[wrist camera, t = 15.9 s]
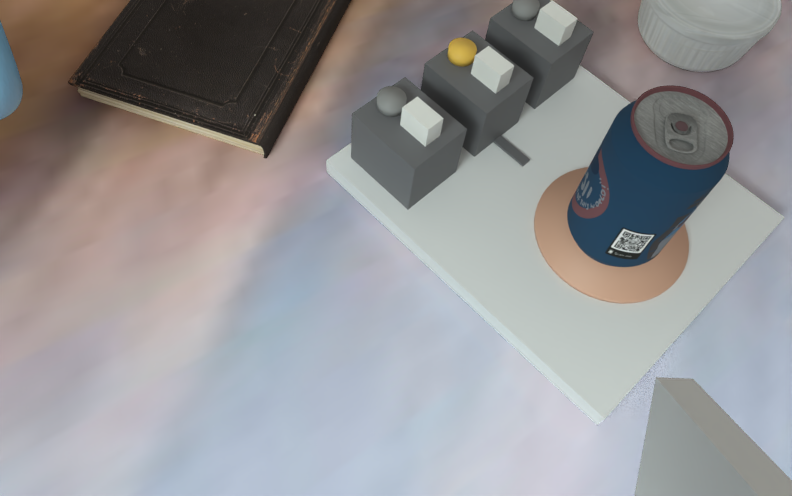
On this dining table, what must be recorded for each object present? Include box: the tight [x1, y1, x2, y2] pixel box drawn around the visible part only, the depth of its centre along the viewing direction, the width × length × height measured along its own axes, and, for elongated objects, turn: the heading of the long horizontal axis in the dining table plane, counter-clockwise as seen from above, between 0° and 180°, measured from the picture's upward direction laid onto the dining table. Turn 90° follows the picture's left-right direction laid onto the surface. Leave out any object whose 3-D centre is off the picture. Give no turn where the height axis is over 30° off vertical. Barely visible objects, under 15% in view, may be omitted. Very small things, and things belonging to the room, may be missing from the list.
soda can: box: [567, 86, 733, 267], centre depth 44 cm, size 7×7×12 cm
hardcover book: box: [68, 0, 351, 158], centre depth 58 cm, size 16×23×2 cm
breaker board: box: [326, 0, 785, 425], centre depth 49 cm, size 26×22×8 cm
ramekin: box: [638, 0, 782, 72], centre depth 60 cm, size 11×11×5 cm
